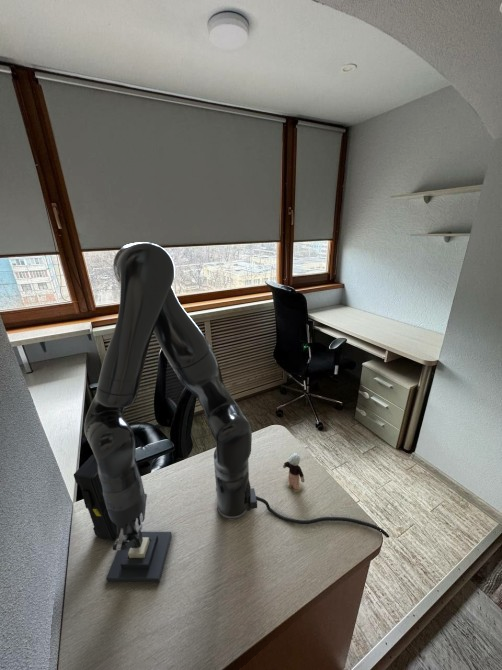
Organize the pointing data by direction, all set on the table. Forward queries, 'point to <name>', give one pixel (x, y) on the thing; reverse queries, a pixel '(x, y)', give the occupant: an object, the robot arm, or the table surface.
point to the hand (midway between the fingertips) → (137, 543)
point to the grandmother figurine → (294, 472)
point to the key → (140, 549)
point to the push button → (141, 561)
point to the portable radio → (95, 499)
